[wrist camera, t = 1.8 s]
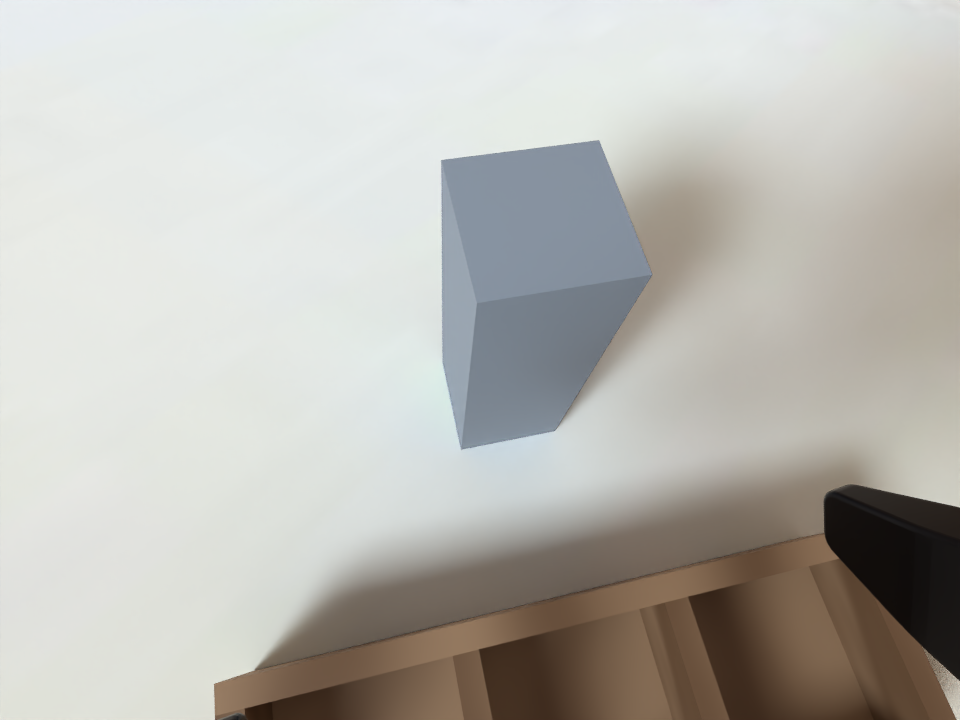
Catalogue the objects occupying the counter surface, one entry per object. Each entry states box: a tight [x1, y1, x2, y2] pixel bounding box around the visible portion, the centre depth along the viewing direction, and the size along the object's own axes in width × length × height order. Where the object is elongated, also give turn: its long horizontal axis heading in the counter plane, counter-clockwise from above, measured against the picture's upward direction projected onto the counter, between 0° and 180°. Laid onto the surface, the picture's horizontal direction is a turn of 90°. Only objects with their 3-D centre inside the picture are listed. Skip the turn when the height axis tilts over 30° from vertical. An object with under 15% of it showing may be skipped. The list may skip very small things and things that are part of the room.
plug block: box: [441, 140, 652, 449], centre depth 18 cm, size 4×4×12 cm
